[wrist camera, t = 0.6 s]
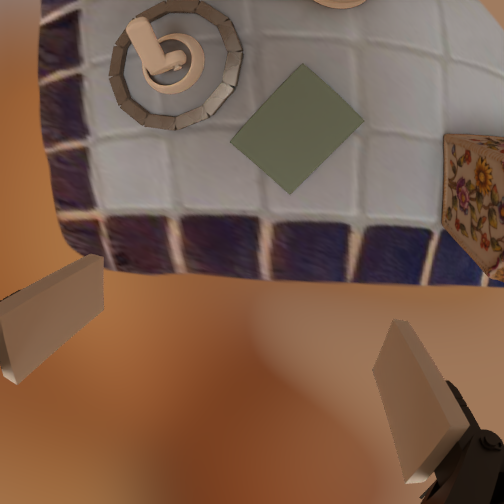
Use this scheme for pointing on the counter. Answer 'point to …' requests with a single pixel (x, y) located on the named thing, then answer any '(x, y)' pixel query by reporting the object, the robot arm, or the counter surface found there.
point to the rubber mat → (297, 129)
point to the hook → (164, 55)
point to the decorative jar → (476, 198)
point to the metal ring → (189, 3)
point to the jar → (340, 3)
